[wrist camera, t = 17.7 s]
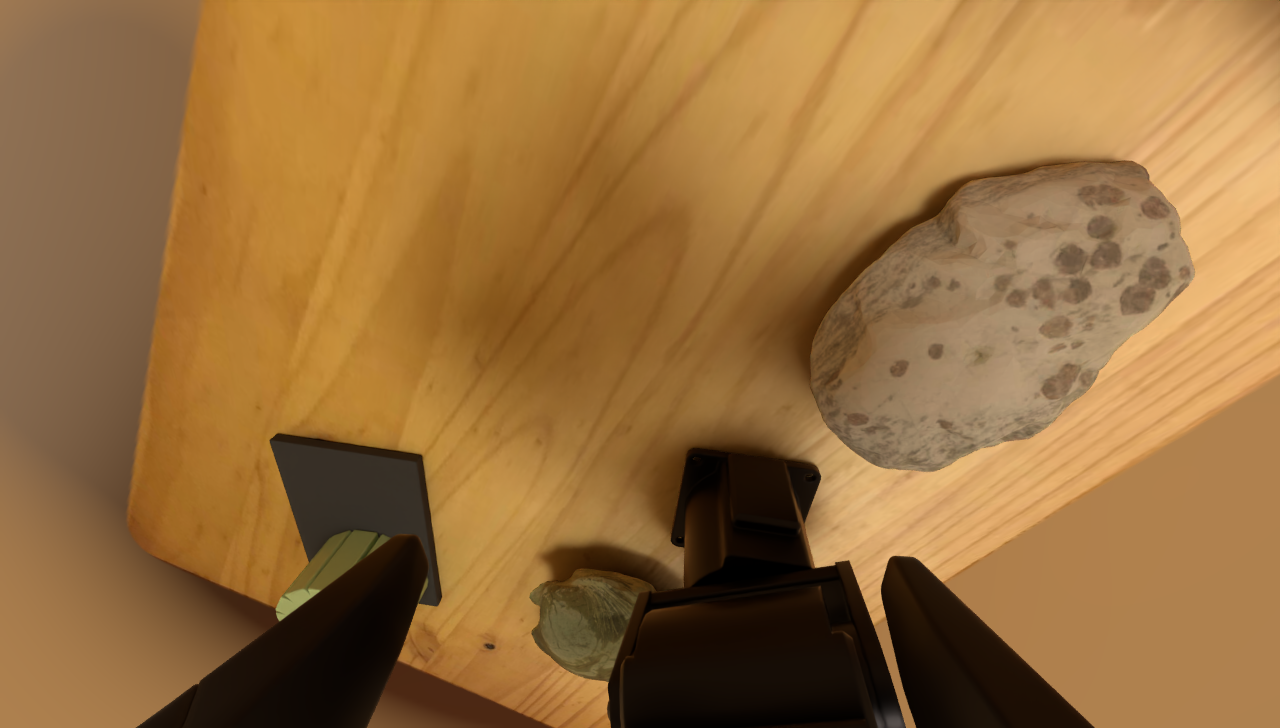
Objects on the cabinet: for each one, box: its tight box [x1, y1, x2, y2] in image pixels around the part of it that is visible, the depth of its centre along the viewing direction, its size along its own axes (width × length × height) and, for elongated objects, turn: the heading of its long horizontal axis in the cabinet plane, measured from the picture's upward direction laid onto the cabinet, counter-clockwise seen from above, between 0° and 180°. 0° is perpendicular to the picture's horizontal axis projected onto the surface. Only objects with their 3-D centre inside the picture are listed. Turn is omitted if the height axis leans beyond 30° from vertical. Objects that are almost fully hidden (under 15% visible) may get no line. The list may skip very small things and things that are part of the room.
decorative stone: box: [810, 161, 1195, 472], centre depth 18 cm, size 12×11×5 cm
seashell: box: [529, 568, 657, 682], centre depth 29 cm, size 10×7×10 cm
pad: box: [270, 434, 441, 606], centre depth 29 cm, size 12×8×1 cm, turn 174°
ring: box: [276, 530, 428, 621], centre depth 29 cm, size 6×6×4 cm
